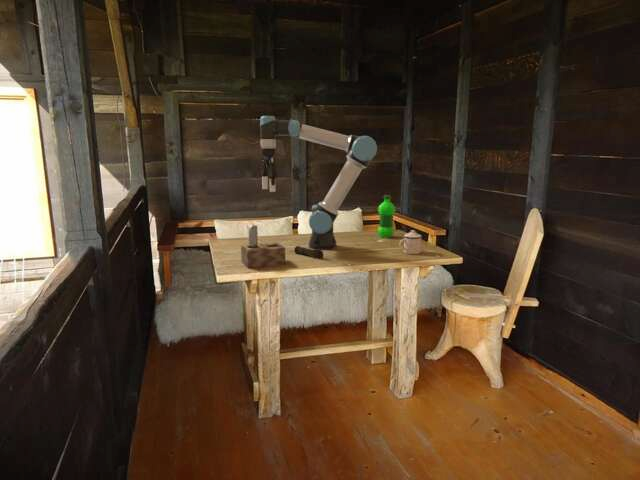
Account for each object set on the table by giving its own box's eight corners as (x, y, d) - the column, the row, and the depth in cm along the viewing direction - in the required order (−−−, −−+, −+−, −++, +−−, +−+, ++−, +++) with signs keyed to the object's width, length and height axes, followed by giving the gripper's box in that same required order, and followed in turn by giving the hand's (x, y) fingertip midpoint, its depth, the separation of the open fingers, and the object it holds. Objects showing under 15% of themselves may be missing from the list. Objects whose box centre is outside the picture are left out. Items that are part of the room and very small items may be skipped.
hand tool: (293, 253, 246) (293, 245, 245) (299, 252, 248) (299, 243, 247) (318, 260, 232) (318, 251, 231) (324, 259, 235) (324, 250, 234)
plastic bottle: (374, 235, 292) (375, 194, 287) (390, 235, 295) (392, 194, 290) (380, 239, 283) (381, 196, 278) (397, 238, 285) (398, 196, 280)
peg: (256, 258, 226) (256, 225, 223) (259, 260, 223) (258, 226, 219) (248, 259, 225) (247, 225, 222) (250, 261, 221) (249, 227, 218)
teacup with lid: (415, 250, 255) (416, 228, 253) (424, 253, 247) (425, 231, 244) (395, 251, 252) (396, 229, 249) (403, 255, 243) (404, 232, 241)
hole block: (277, 258, 235) (277, 242, 233) (285, 264, 224) (285, 247, 222) (241, 261, 228) (240, 244, 226) (247, 268, 217) (247, 250, 215)
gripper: (254, 147, 249) (255, 188, 254) (268, 148, 227) (268, 193, 231) (268, 147, 252) (268, 187, 256) (283, 148, 230) (283, 192, 234)
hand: (268, 190), depth 244 cm, fingers open, 13 cm apart
